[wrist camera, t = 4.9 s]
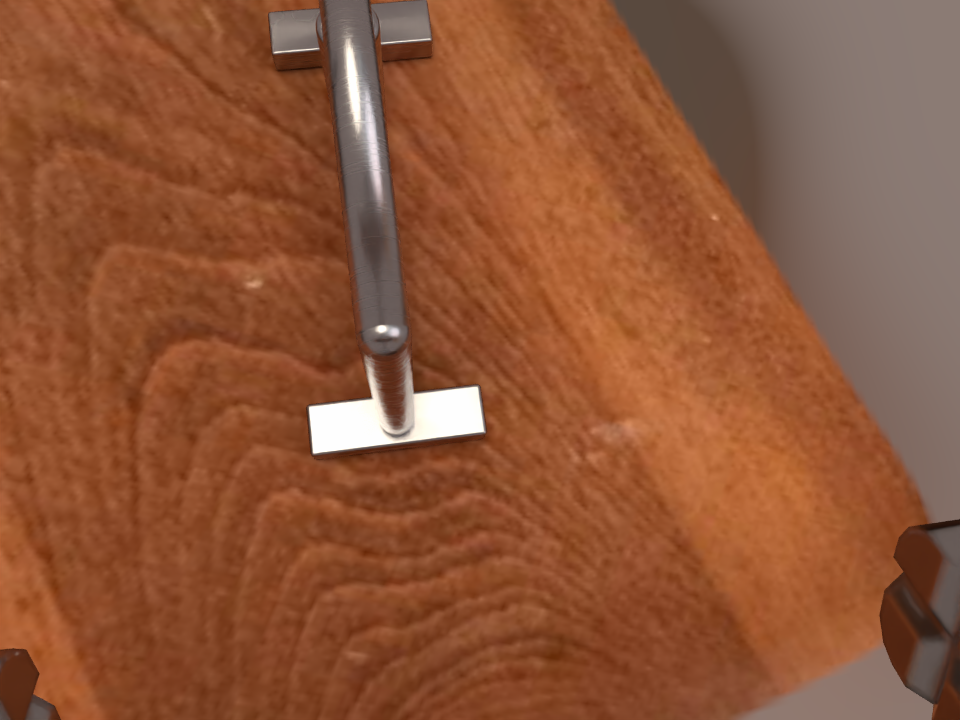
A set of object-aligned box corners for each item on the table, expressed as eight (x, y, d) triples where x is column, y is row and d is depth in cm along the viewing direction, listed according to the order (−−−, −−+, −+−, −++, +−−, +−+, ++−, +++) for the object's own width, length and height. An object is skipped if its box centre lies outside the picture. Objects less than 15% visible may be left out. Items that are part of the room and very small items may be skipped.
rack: (485, 439, 22) (529, 350, 13) (314, 460, 21) (240, 384, 13) (426, 16, 24) (431, -301, 15) (272, 29, 24) (185, -288, 15)
